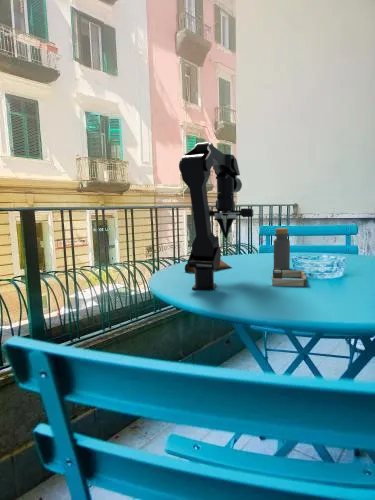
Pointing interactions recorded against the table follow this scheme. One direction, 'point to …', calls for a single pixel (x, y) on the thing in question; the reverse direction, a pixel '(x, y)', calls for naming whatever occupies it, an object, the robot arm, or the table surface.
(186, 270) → the sweet potato
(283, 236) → the bottle
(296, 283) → the display frame
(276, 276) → the strap clip
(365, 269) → the table surface
